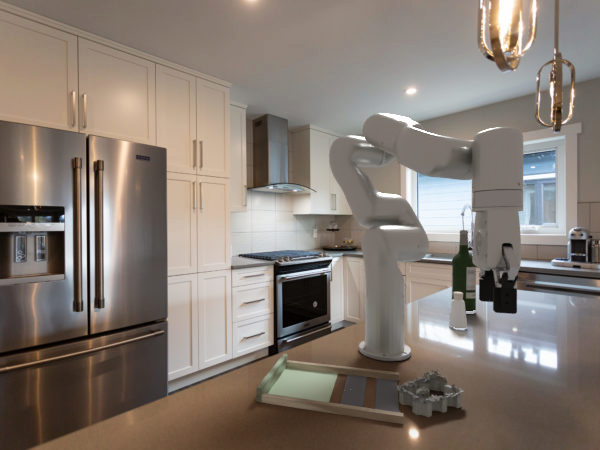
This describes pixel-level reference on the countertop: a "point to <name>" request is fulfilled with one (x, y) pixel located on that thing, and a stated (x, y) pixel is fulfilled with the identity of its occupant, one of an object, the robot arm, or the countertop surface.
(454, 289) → the wine bottle
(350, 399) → the strips
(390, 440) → the countertop surface
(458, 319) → the salt shaker
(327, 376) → the pad
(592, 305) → the countertop surface
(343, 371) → the channel
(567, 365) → the countertop surface
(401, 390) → the egg carton
